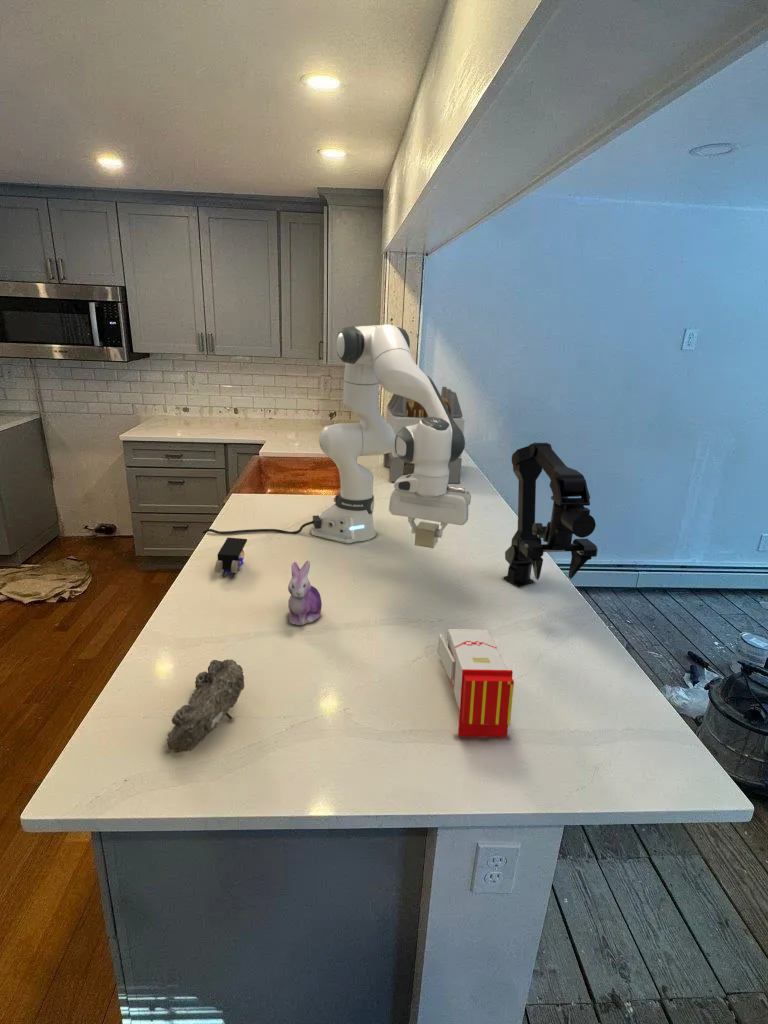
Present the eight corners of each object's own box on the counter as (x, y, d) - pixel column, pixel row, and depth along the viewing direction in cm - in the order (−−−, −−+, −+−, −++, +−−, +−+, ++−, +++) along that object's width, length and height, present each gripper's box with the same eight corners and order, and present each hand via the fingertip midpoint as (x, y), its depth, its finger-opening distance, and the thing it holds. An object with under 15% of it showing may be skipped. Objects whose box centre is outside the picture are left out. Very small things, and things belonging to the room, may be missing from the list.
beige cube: (433, 548, 144) (434, 530, 143) (414, 545, 146) (415, 527, 144) (437, 541, 149) (439, 524, 147) (419, 538, 150) (420, 521, 149)
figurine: (293, 630, 138) (292, 574, 133) (280, 610, 146) (279, 557, 141) (329, 622, 142) (330, 568, 137) (314, 603, 150) (315, 552, 145)
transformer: (382, 463, 289) (386, 382, 275) (445, 464, 293) (451, 384, 279) (390, 482, 257) (394, 392, 243) (460, 483, 261) (468, 394, 247)
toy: (488, 613, 130) (523, 677, 101) (484, 667, 133) (517, 744, 104) (435, 612, 130) (455, 676, 101) (432, 666, 133) (451, 743, 103)
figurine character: (238, 584, 162) (249, 557, 175) (236, 562, 158) (247, 536, 172) (215, 584, 161) (227, 556, 175) (212, 561, 158) (225, 535, 171)
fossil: (192, 660, 117) (244, 628, 112) (224, 691, 120) (276, 661, 115) (142, 746, 98) (202, 712, 93) (182, 779, 101) (242, 748, 96)
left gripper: (473, 486, 142) (468, 537, 146) (395, 475, 147) (393, 524, 152) (469, 493, 136) (464, 546, 141) (388, 481, 142) (385, 532, 146)
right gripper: (581, 510, 150) (572, 564, 155) (514, 511, 147) (507, 566, 152) (603, 526, 140) (592, 582, 145) (532, 527, 137) (523, 585, 142)
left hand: (426, 534), depth 146 cm, fingers closed on beige cube, 5 cm apart
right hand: (553, 578), depth 146 cm, fingers open, 9 cm apart
